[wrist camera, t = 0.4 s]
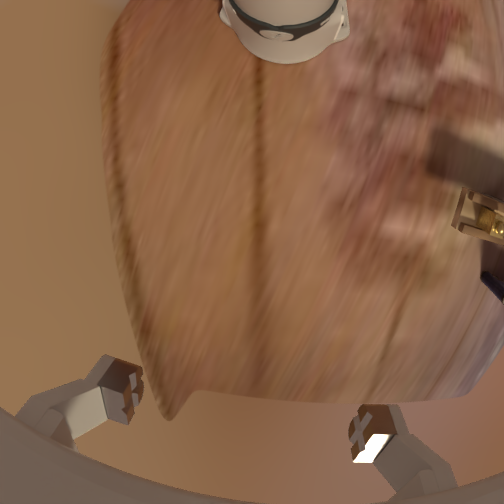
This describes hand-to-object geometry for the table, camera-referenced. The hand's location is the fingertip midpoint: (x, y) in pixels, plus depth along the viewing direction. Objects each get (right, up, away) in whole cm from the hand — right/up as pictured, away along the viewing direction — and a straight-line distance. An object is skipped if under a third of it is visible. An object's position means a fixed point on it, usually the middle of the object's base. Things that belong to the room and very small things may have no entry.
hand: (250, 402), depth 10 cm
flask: (+49, -1, +37) cm, 61 cm away
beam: (+42, +13, +31) cm, 54 cm away
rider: (+34, +10, +24) cm, 43 cm away
